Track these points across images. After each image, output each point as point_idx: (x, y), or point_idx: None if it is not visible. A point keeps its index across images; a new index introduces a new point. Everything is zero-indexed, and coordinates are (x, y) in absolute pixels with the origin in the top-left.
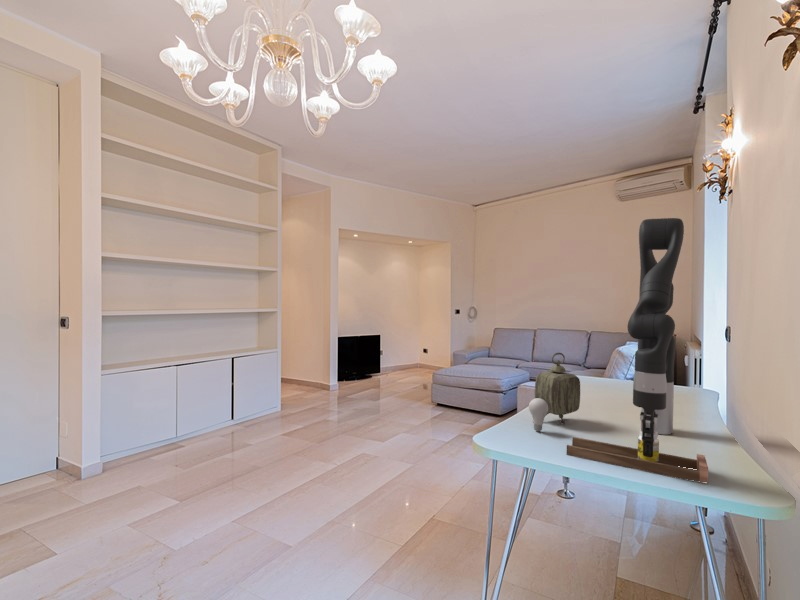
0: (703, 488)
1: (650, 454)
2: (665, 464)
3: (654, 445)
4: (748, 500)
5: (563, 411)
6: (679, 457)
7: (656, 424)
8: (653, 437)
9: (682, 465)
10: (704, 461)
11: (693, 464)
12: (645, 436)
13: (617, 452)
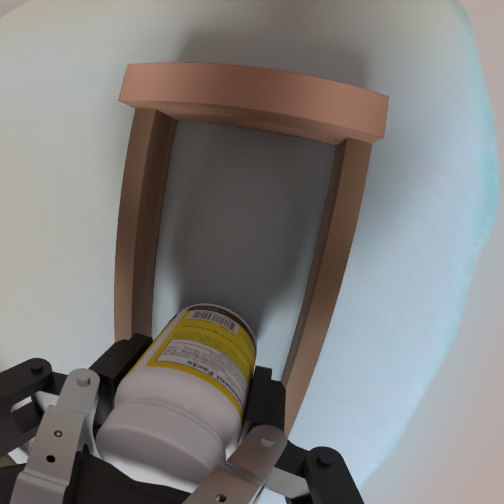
0: (420, 159)
1: (283, 388)
2: (316, 306)
3: (238, 397)
4: (449, 43)
5: (5, 462)
6: (137, 194)
7: (74, 456)
8: (320, 475)
9: (160, 179)
10: (263, 77)
11: (163, 129)
12: (307, 500)
13: None
